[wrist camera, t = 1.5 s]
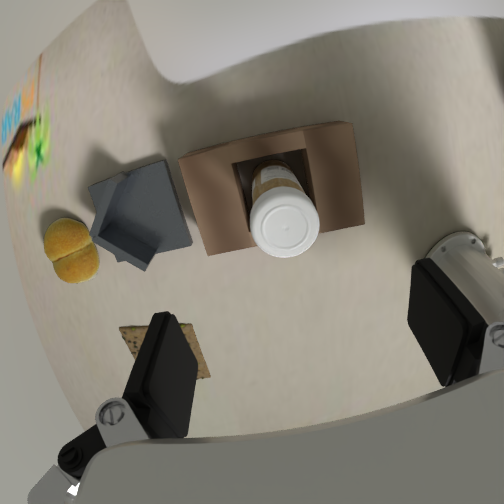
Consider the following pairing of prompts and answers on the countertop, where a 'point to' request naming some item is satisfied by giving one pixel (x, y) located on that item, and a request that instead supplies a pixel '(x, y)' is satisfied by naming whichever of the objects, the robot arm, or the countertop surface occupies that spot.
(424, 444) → the robot arm
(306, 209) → the sprinkles bottle
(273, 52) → the countertop surface
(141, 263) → the v block
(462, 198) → the countertop surface
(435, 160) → the countertop surface
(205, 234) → the wooden block with hole
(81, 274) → the bread roll
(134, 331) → the cookie
